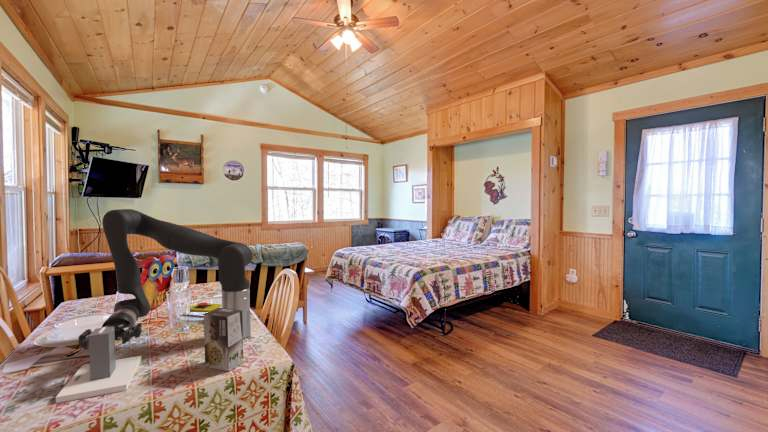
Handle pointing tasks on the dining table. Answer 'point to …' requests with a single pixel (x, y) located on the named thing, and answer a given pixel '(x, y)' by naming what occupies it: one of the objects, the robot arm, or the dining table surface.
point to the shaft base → (99, 381)
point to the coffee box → (223, 338)
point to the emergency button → (204, 307)
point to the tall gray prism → (102, 353)
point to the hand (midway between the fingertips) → (104, 343)
